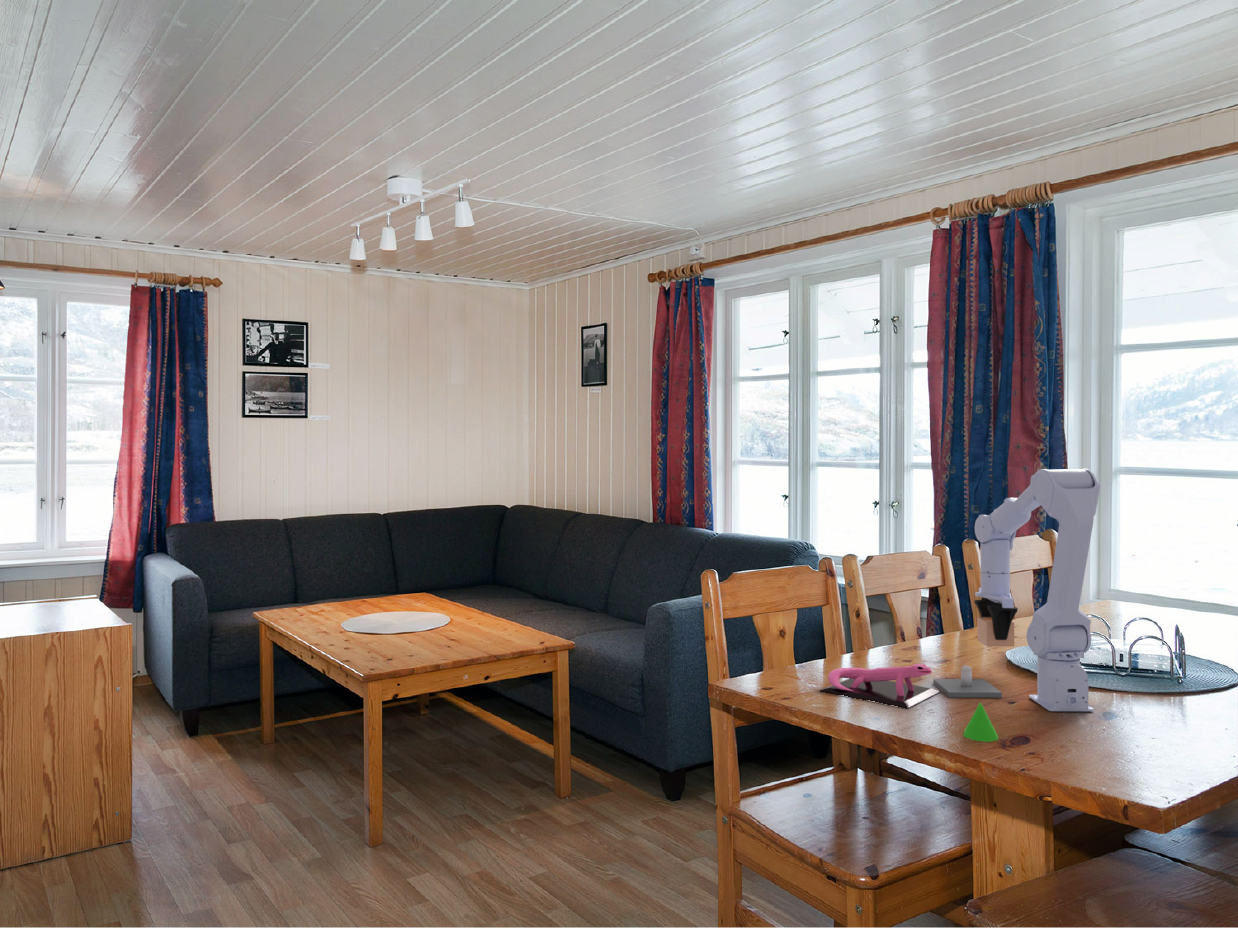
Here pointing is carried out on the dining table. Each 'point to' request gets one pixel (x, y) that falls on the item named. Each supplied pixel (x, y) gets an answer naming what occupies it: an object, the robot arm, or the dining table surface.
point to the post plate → (967, 686)
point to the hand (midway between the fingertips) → (995, 636)
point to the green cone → (980, 727)
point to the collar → (992, 633)
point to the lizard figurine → (881, 685)
